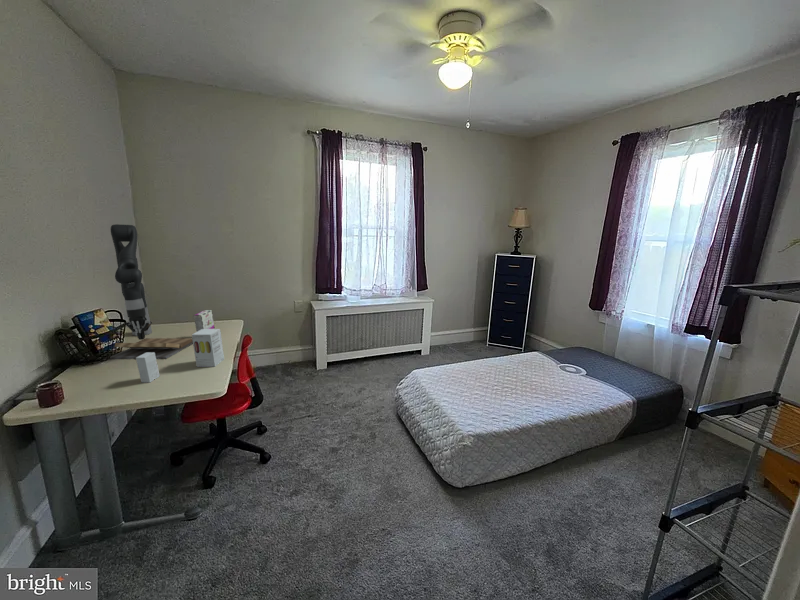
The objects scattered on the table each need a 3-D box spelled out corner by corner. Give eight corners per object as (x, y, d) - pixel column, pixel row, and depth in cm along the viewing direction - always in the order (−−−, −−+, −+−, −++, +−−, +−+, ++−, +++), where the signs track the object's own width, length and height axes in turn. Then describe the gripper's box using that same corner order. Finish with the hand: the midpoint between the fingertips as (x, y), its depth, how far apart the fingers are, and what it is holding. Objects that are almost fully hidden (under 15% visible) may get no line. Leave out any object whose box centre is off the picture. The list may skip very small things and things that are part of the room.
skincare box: (151, 376, 152) (146, 352, 149) (160, 376, 152) (155, 352, 149) (140, 382, 146) (135, 357, 144) (149, 382, 146) (144, 357, 143)
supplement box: (195, 367, 161) (190, 334, 158) (206, 359, 170) (201, 328, 167) (215, 366, 162) (210, 334, 158) (225, 359, 171) (220, 328, 167)
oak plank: (114, 346, 174) (115, 342, 175) (130, 347, 184) (131, 344, 185) (166, 346, 173) (166, 342, 174) (179, 347, 183) (179, 344, 183)
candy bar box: (208, 335, 208) (204, 309, 205) (216, 335, 208) (212, 309, 205) (197, 341, 198) (193, 314, 194) (205, 341, 197) (201, 314, 194)
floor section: (110, 358, 173) (109, 353, 172) (146, 342, 196) (145, 337, 196) (166, 358, 172) (165, 353, 171) (195, 342, 195) (194, 337, 195)
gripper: (153, 305, 174) (159, 336, 178) (129, 305, 175) (135, 336, 179) (141, 309, 167) (148, 341, 171) (116, 309, 167) (123, 341, 171)
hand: (141, 339), depth 175 cm, fingers closed
